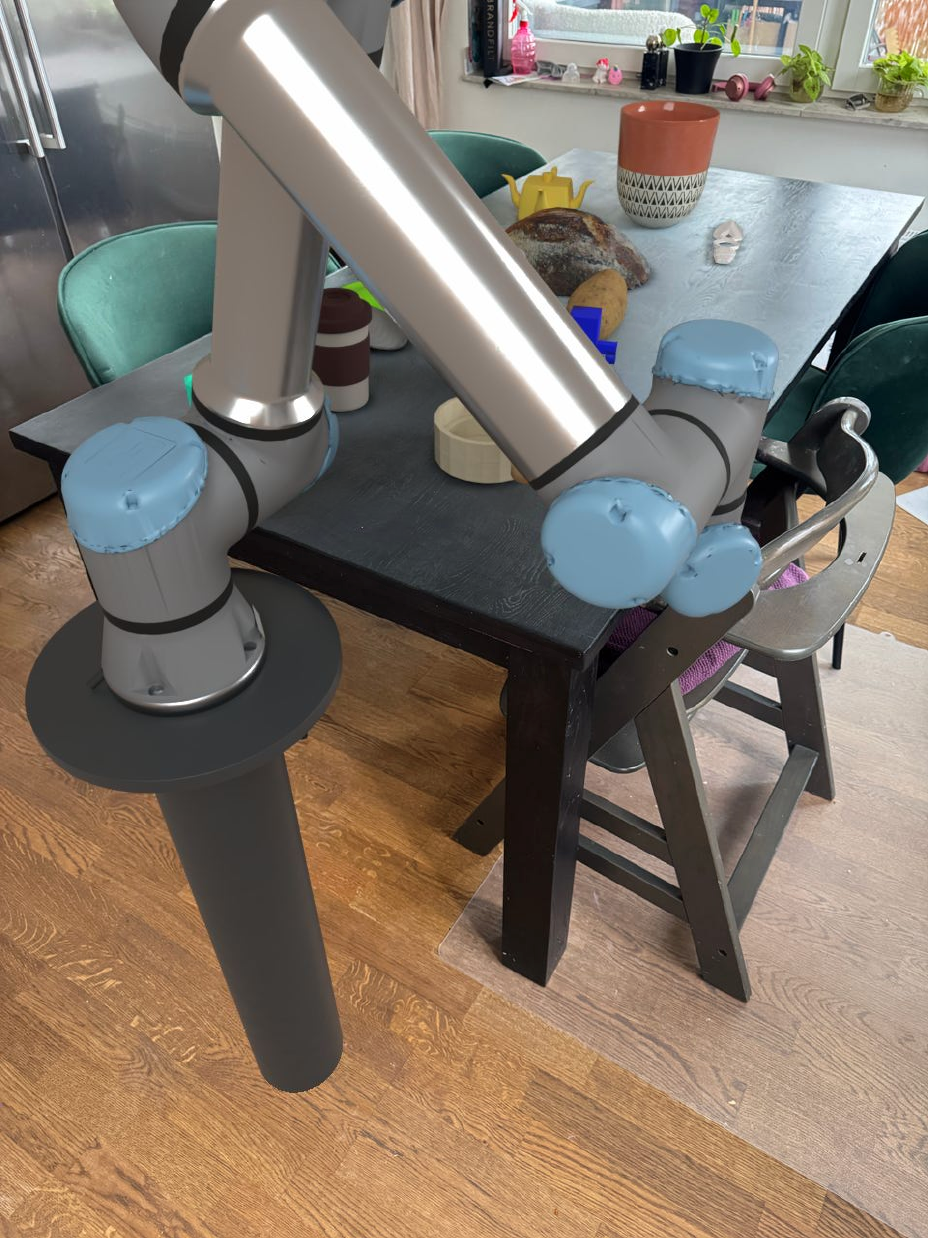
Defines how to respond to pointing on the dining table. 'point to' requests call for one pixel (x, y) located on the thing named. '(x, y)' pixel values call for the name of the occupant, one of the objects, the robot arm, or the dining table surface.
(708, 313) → the dining table surface
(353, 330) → the coffee cup
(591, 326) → the figurine
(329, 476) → the dining table surface
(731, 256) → the white lumpy piece
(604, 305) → the potato
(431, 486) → the dining table surface
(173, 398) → the dining table surface
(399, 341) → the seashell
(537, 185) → the teapot
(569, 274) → the bread
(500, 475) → the bowl
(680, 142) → the planter
